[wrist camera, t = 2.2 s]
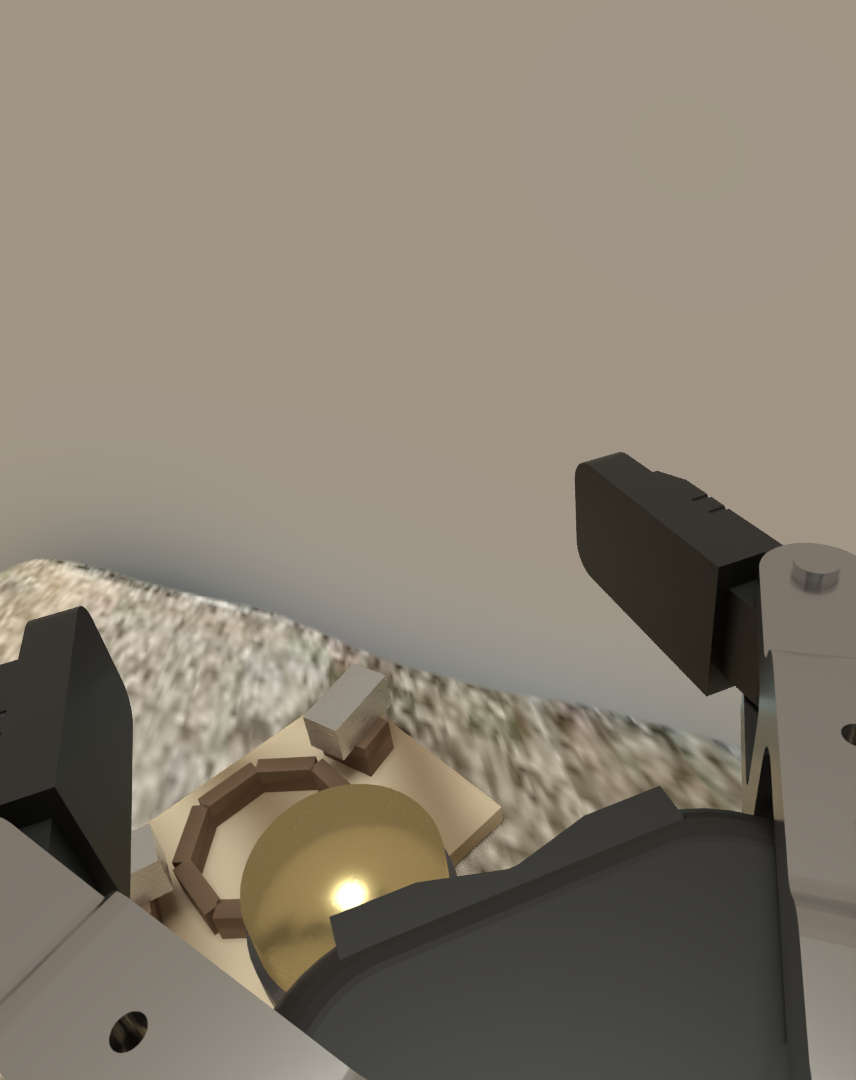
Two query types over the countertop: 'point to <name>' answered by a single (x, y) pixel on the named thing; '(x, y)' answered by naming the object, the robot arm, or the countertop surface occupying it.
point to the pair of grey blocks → (329, 729)
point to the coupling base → (264, 794)
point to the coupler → (330, 872)
